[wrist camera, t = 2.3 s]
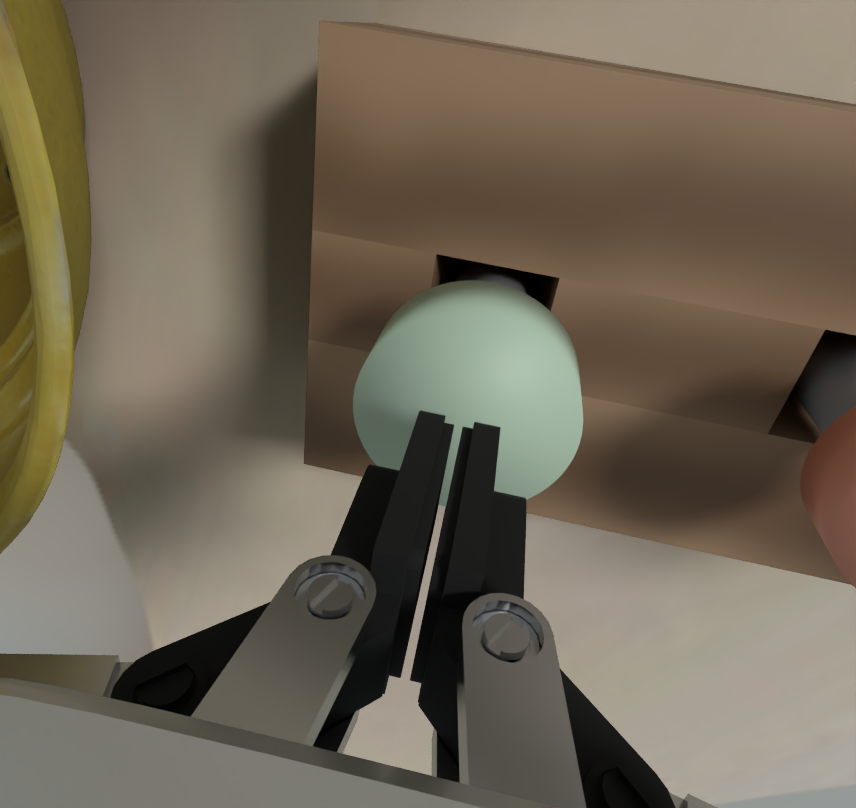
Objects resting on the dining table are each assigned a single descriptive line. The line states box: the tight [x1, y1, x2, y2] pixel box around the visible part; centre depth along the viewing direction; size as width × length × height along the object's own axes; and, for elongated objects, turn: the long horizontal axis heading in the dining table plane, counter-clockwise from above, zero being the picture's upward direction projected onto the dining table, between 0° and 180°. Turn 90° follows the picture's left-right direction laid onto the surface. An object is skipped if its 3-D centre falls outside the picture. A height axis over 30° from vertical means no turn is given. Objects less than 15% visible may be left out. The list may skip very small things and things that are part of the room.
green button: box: [353, 262, 583, 506], centre depth 17 cm, size 5×5×8 cm
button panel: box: [304, 21, 856, 585], centre depth 20 cm, size 14×22×6 cm, turn 82°
